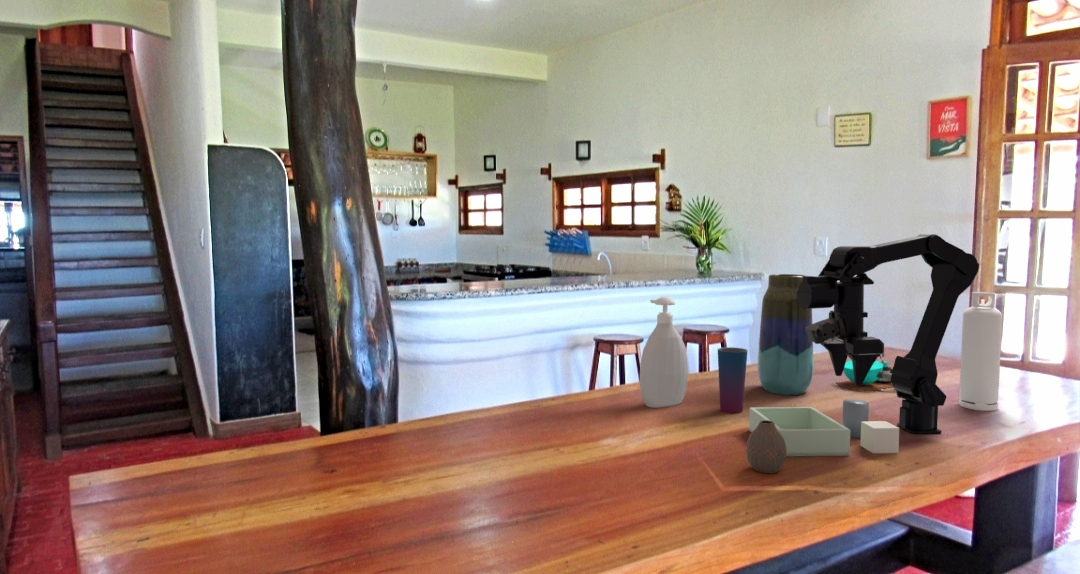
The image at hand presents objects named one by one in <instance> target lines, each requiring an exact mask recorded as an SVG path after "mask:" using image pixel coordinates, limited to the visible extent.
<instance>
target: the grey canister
mask: <svg viewBox="0 0 1080 574" xmlns="http://www.w3.org/2000/svg"><path fill="white" fill-rule="evenodd" d="M869 412H870V402H869V401H867V400H862V399H854V398H847V399H843V400H842V417H841V418H842V419H841V420H842V422H841V425H843V426H845V427H846V428H848V429H850V438H853V439H861V421H869V415H870V413H869Z"/></svg>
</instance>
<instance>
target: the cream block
mask: <svg viewBox="0 0 1080 574" xmlns="http://www.w3.org/2000/svg"><path fill="white" fill-rule="evenodd" d="M899 443H900V427H899V426H897V425H894V424H893V423H890V422H888V421H886V420H885V421H884V420H875V421H874V420H873V421H871V420H868V421H861V438H860V444H859V445H860V446H861V448H864V449H866V450H867V451H869V452H870V453H871V454H899V447H900V445H899Z"/></svg>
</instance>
